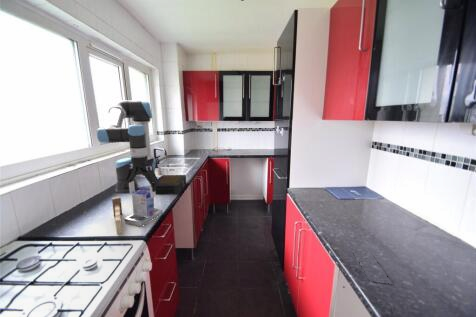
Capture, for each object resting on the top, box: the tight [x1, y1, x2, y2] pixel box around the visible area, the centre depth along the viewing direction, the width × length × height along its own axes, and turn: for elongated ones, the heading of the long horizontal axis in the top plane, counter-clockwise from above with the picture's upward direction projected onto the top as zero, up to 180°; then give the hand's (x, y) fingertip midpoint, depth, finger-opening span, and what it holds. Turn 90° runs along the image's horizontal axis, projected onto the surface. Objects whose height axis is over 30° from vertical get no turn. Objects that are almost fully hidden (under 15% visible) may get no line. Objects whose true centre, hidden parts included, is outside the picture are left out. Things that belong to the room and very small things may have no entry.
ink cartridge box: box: [131, 186, 155, 217], centre depth 107 cm, size 10×6×14 cm, turn 71°
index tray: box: [124, 207, 163, 227], centre depth 108 cm, size 15×11×2 cm
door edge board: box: [111, 196, 123, 235], centre depth 102 cm, size 24×4×10 cm, turn 31°
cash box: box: [155, 174, 187, 196], centre depth 154 cm, size 25×20×8 cm
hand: (142, 195), depth 107 cm, fingers open, 13 cm apart
